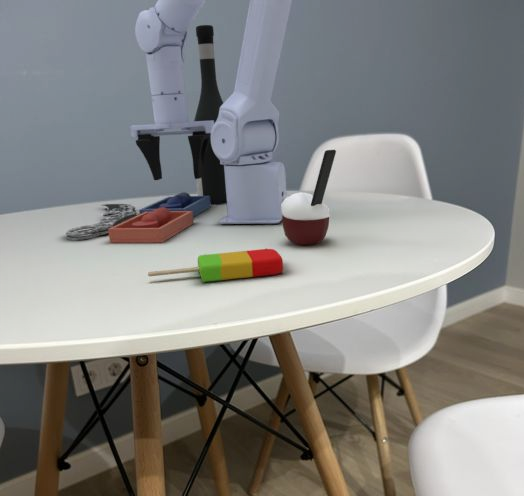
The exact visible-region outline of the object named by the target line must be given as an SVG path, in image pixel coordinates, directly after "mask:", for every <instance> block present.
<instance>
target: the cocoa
mask: <svg viewBox="0 0 524 496" xmlns="http://www.w3.org/2000/svg"><path fill="white" fill-rule="evenodd" d="M336 154H337V150H336V149H327V150H325V151H324V152H323V155H322V156H323V157H322V160H321V164H320V168H319V172H318V176H317V180H316V182H315V183H316V184H315V187H314V191H313V194H311V193H309V192H301V191H300V192H296V193H292V194H291V195H289V196H286V198H285V200H284V201H283V202H282V204H281V211H282V214H283V215H282V220H281V222H282V229H283V232H284V236H285V237H286V238H287V240H288V241H289V242H290V243H292V244H294V245H298V246H312V245H317V244H319V243H320V242H322V241H323V240H324V239H325V238H326V236H327V234H328V233H327V232H328V229H329V225H330V216H331V210H330V209H329V207H328V206H327V204H325V202H324V201H323V200H324V197H325V193H326V189H327V186H328V182H329V178H330V176H331V173H332V172H331V171H332V167H333V165H334V161H335V157H336Z"/></svg>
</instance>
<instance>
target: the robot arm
mask: <svg viewBox="0 0 524 496" xmlns="http://www.w3.org/2000/svg"><path fill="white" fill-rule="evenodd" d="M206 2H207V0H157V1H156V3H155V5H154V7H152V6H151V7H150V8H149V9H147V10H145V9H144V10H142V11H140V12H139V13H138V17H137V19H136V21H135V29H134V31H135V39H136V42H137V44H138V46H139V48H140V49H141V50H142V51H143V52H145V58H146V66H147V75H148V80H149V89H150V95H151V97H150V98H151V104H152V113H153V121H154V123H146V124H133V125H130V127H129V128H130V134H131V138H137V139H135V144H136V146H137V147H138V149H139V150H140V152H141V153H142V155H143V157H144V158H145V161H146V163H147V165H148V167H149V169H150V172H151V175H152V179H153V181H159V180H162V179H163V172H162V165H161V158H160V157H161V156H160V151H161V150H160V148H161V147H160V141H161V136H176V135H178V136H179V135H187V140H188V144H189V148H190V153H191V158H192V167H193V168H192V169H193V176H194V179H195V180H196V179H199V178H202V172H203V164H204V158H205V154H206V151H207V148H208V145H209V142H210V140H211V146H212V149H213V151H214V153H215V155H216V156H217V158H218V159H219V160H220V164H223V165H224V172H225V184H226V197H227V203H226V208H227V216H226V217H223V218H222V219H221V220H220V221H219V223H220V224H221V225H234V224H235V225H240V224H241V225H242V224H243V225H245V224H251V225H252V224H253V225H255V224H257V225H258V224H265V225H266V224H280V222H282V215H283V214H282V211H281V204H282V202H283V201H284V200H285V198H286V197H287V178H286V177H287V175H286V169H285V164H284V163H283V162H279V161H272V160H273V154H274V153H275V151H276V150H277V148H278V146H279V142H280V132H279V119H280V112H279V110H278V108H276V106H275V105H274V104H273V102H272V101H271V100H272V95H273V91H274V87H275V81H276V77H277V72H278V67H279V63H280V59H281V54H282V50H283V49H282V48H283V46H284V45H283V44H284V40H285V35H286V30H287V26H288V21H289V16H290V11H291V6H292V3H293V0H249V5H248V11H247V15H246V21H245V27H244V33H243V38H242V44H241V49H240V54H239V55H240V56H239V62H238V67H237V72H236V78H235V84H234V89H233V93H232V94H231V95H230V96H229V97H228V98H226V100H224V101H223V104H222V106H221V107H220V110H219V115H218V118H217V121H216V122H215V124H214V120H212V121H194V120H193V121H192V120H191V121H189V116H188V115H189V114H188V103H187V95H186V86H185V77H184V65H183V64H184V63H185V60H186V59H185V50H186V46H187V42H188V29H189V27H190V26H191V24H193V22H194V20H195V18H196V17H197V16H198V14H199V12H200V11H201V10H202V8H203V7H204V5H205V4H206ZM173 129H174V130H175V129H180V131H179V130H178V131H165V130H173ZM209 133H211V135H209ZM192 134H193V135H192Z"/></svg>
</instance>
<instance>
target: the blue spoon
mask: <svg viewBox="0 0 524 496" xmlns="http://www.w3.org/2000/svg"><path fill="white" fill-rule="evenodd" d="M191 196H192V195H191V194H189V193H188V192H187V191H182V192H180V193H177V194H175V195H174V196H173V197H172V196H170V197H171V198H169V199H168V201H167V203H166V204H161V205H159V208H161V207H164V208H167V209H180V208H182V209H183V208H185V207H187V206H188V205H190V204H191V200H192V199H191Z"/></svg>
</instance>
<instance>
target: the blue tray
mask: <svg viewBox="0 0 524 496" xmlns="http://www.w3.org/2000/svg"><path fill="white" fill-rule="evenodd" d="M190 196H191V199H192V200H191V204H190V205H188V206H187V207H185V208H183V209H182V208H180V209H168V210H169V211H192V212H193V218H194V217H196V216H198V215H199V214H201V213H202V212H205V211H206V210H208V209H209V208H211V206H212V204H211V203H210V196H198V195H190ZM171 197H173V196H167V197H165V198H162V199H160V200H158V201H155V202H153V203H151V204H149V205H146V206H144V207H142V208H140V209H138V212H139V215H140V214H142V213H144V212H152V211H154V210H156V209H158V208H159V205H161V204H166V203H167V201H168V199H169V198H171Z"/></svg>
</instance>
